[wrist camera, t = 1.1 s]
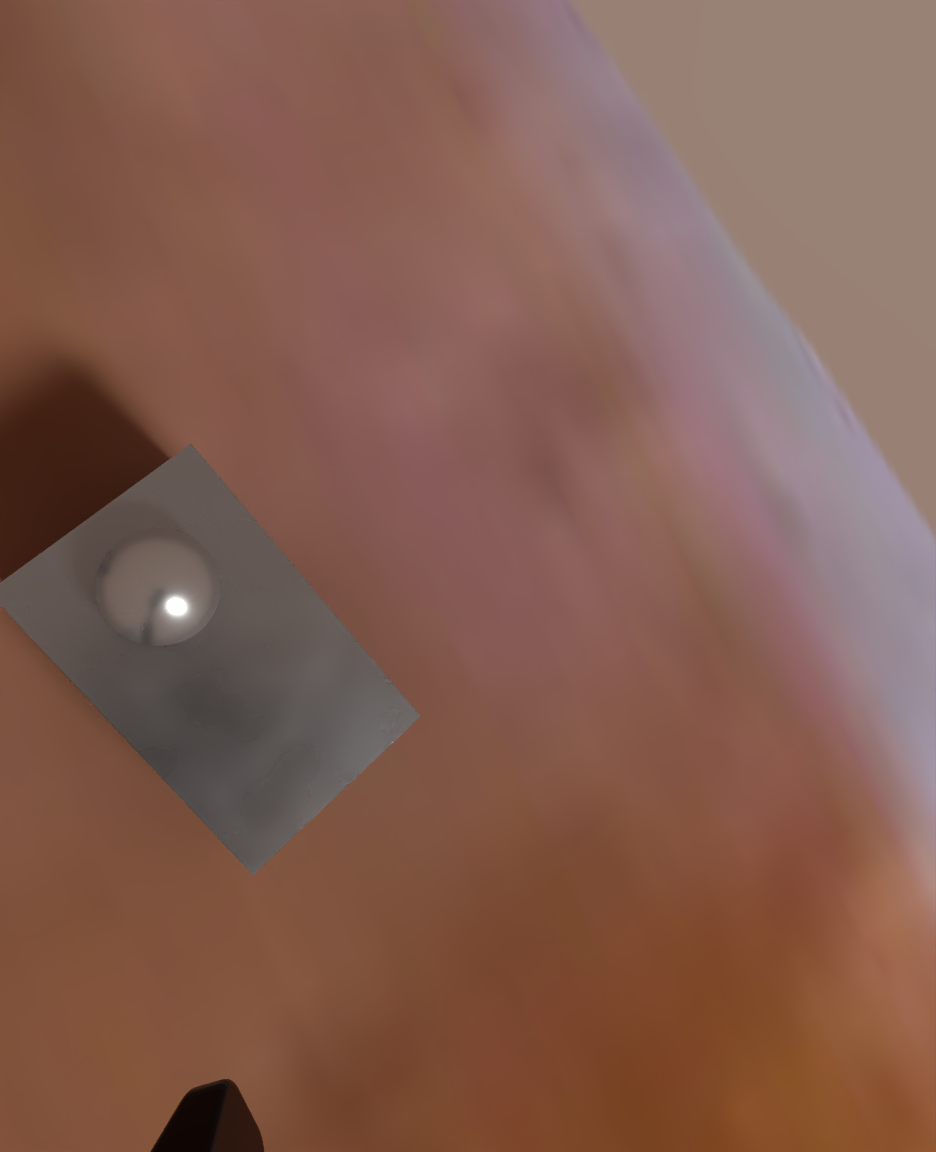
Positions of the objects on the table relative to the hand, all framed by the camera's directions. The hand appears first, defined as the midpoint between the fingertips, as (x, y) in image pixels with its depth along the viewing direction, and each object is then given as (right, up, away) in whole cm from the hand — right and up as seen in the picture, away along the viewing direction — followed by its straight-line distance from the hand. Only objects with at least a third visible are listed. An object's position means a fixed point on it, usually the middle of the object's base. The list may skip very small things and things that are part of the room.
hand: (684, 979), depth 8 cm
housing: (-9, +2, +14) cm, 16 cm away
